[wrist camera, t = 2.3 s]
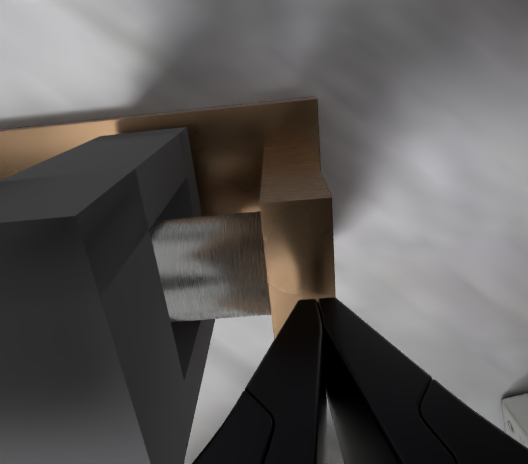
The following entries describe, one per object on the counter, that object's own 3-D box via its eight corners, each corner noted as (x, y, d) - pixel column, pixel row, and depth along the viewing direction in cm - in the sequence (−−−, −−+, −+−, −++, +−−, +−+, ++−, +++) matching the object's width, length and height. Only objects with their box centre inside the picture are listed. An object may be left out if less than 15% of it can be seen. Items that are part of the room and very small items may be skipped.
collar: (187, 127, 14) (74, 216, 6) (217, 306, 16) (169, 526, 9) (100, 135, 14) (-120, 233, 6) (145, 312, 17) (35, 532, 9)
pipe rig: (314, 96, 15) (348, 125, 8) (324, 286, 18) (354, 414, 11) (-244, 154, 16) (-596, 219, 9) (-144, 322, 19) (-356, 457, 13)
